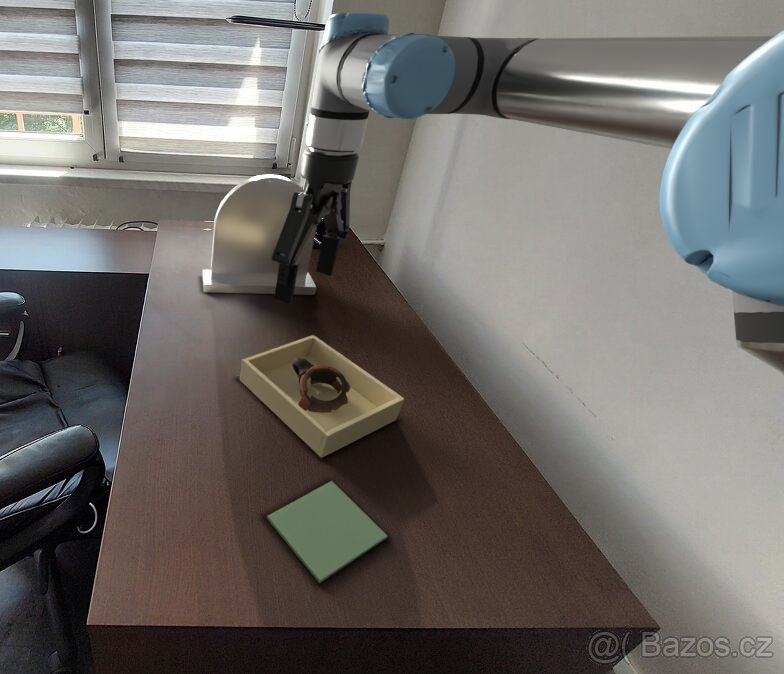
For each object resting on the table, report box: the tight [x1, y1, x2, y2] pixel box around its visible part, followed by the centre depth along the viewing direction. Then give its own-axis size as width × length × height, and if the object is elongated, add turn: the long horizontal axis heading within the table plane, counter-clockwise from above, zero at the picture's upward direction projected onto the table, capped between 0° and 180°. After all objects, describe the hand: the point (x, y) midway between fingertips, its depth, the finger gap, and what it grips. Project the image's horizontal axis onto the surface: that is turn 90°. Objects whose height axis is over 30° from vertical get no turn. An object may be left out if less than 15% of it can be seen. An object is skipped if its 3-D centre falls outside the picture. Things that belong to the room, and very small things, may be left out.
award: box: [201, 174, 317, 296], centre depth 111 cm, size 28×9×28 cm, turn 91°
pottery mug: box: [292, 357, 350, 413], centre depth 80 cm, size 12×10×8 cm
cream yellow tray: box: [239, 334, 405, 459], centre depth 81 cm, size 22×18×5 cm
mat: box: [266, 480, 388, 584], centre depth 61 cm, size 10×12×1 cm
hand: (304, 286), depth 75 cm, fingers open, 13 cm apart
